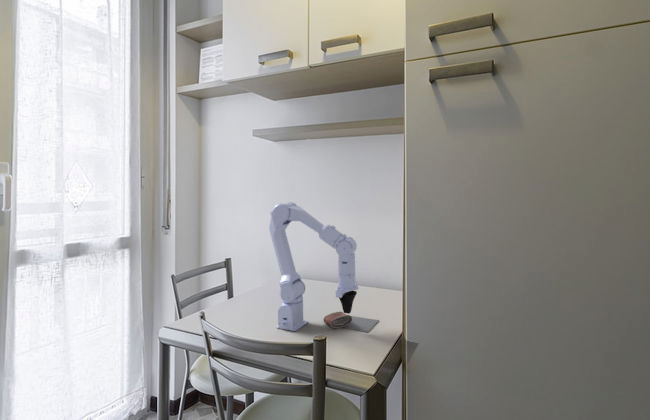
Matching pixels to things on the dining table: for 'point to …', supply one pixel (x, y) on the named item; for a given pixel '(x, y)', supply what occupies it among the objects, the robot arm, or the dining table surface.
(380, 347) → the dining table surface
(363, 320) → the mat
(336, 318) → the lighter
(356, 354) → the dining table surface
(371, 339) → the dining table surface
